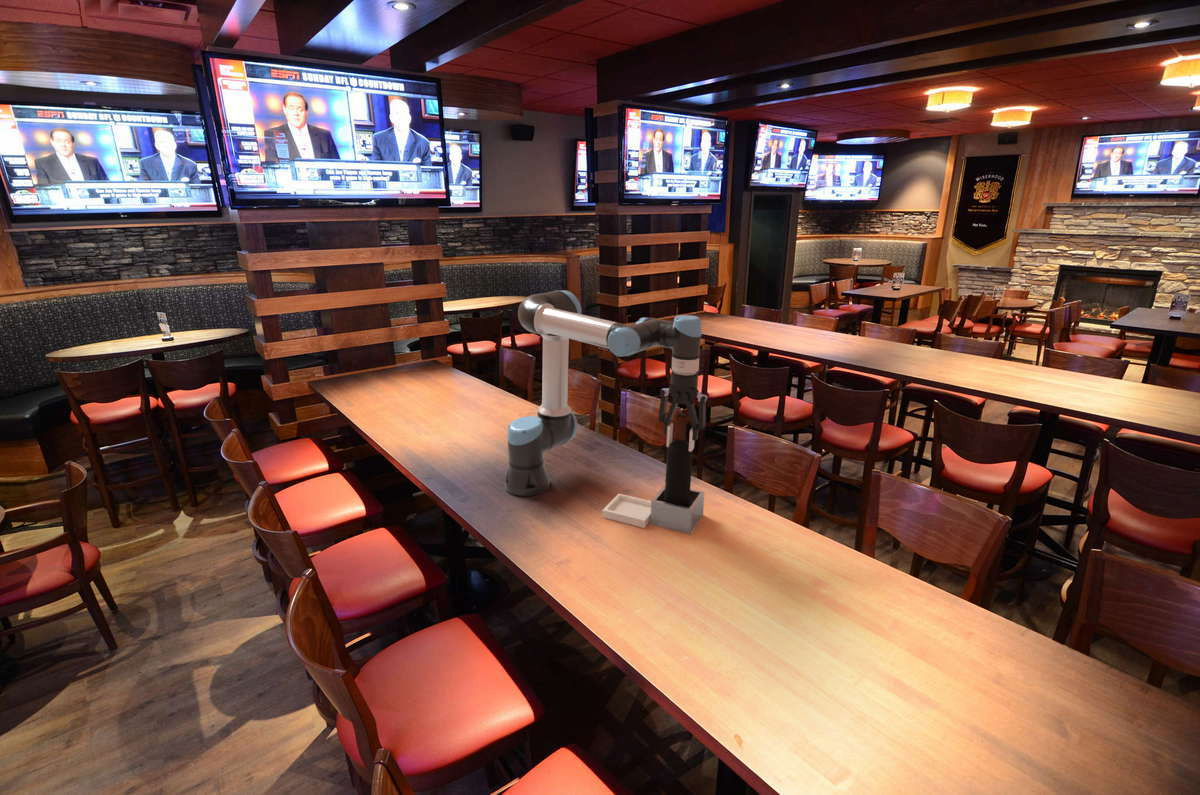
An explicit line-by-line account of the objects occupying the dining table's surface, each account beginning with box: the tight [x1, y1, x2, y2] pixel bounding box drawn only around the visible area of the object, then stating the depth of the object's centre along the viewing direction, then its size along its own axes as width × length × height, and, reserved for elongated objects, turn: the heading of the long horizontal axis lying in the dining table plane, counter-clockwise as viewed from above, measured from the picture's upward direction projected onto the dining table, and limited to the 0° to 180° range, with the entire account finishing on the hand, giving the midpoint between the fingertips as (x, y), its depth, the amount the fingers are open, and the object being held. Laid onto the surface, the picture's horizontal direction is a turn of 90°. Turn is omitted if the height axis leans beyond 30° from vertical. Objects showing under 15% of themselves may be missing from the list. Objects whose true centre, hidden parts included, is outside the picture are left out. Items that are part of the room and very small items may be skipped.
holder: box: [649, 484, 705, 535], centre depth 175 cm, size 12×12×8 cm
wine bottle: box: [664, 413, 694, 508], centre depth 170 cm, size 8×8×30 cm
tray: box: [601, 493, 651, 529], centre depth 179 cm, size 14×12×2 cm
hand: (680, 447), depth 168 cm, fingers closed on wine bottle, 6 cm apart
